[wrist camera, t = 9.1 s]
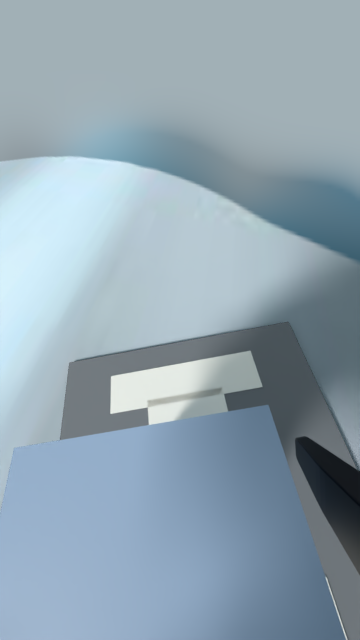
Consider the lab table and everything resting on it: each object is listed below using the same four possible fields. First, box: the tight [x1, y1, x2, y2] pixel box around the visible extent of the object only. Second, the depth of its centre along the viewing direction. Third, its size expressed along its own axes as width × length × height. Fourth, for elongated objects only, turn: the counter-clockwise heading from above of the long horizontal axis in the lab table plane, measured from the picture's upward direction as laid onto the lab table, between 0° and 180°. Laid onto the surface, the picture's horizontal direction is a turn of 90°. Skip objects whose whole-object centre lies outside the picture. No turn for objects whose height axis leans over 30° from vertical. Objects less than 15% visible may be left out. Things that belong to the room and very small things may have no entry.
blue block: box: [0, 405, 346, 640], centre depth 8 cm, size 5×5×13 cm
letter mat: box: [60, 322, 360, 640], centre depth 14 cm, size 20×20×1 cm
